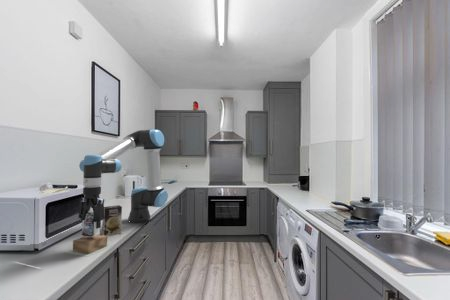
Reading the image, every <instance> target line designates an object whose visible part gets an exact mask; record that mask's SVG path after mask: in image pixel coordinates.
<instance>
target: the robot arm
mask: <svg viewBox="0 0 450 300" xmlns="http://www.w3.org/2000/svg"><path fill="white" fill-rule="evenodd" d="M164 144H165V137H164V134H163V132H162V131H161V130H159V129H144V130H143V129H141V130H136V131H134V132H132V133H130V134H128V135H126V136H125V137H123V138H122V140H121V141H119V142H117V143H115V144H114V145H112V146H110V147H108V148H107V149H105V150H103V151H101V152H100V153H98V154H86V155H85V156H84V157H83V158H84V159H82V160H80V162H79V164H78V165H79V166H78V167H79V169H80V171H81V172H83V184H82V186H83V188H82V195H83V196H84V197H80V198H79V209H78V210H79V211H78V219H80V220H81V227H82V228H81V229H82V230H81V232H82V231H83V226H84V221H85V217H86V214H87V213H88V211H91V209H92V211H93V213H94V217H95V221H94V236H96V235H101V232H100V231H101V228H102V226H101V225H102V221H103V220H104V219H105V218H104V207H105V206H104V205H105V199H104V198H101V197H100V195H101V194H102V186H101V185H102V174H114V173H116V174H117V173H119V172H120V171H121V170H122V161H121V160H120V159H117V158H119V157H120V156H122V155H124V154H125V153H127V152H128V151H130V150H134V149H136V148H141V147H142V148H143V151H144V152H145V155H146V164H147V165H146V166H147V167H146V168H147V180H148V181H147V182H148V184H147V185H148V186H147V187H146V186H145V187H139V188H138V187H136V188H133V189H132V190H131V191H130V192H131V193H130V200H131V201H130V212H129V213H128V214H129V215H128V219H127V222H128V221H130V222H129V223H131V222H141V223H146V222H149V221H151V214H150V210H149V207H153V208H163V207H164V206H165V204H166V203H167V202H168V198H169V193H168V191H167V190H165V187H164V185H162V176H161V172H162V171H161V157H160V151H161V150H162V146H164Z"/></svg>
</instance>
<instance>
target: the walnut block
mask: <svg viewBox="0 0 450 300" xmlns="http://www.w3.org/2000/svg"><path fill="white" fill-rule="evenodd" d="M107 244H108V236H104V235H102V234H99V235H96V236H93V237H84V236H82V237H79V238H77V239H73V240H72V250H73V251H74V252H79V253H84V254H90V253H93V252H95V251H97V250H99V249H102V248H104V247H106V246H107Z"/></svg>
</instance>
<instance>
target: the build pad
mask: <svg viewBox="0 0 450 300" xmlns="http://www.w3.org/2000/svg"><path fill="white" fill-rule="evenodd" d="M113 246H114V245H113V244H109V243H107V246H106V247H104V248H102V249H99V250H97V251H95V252H93V253H90V254H84V253H79V252H74V251H73V249H71V250H67V251H66V252H65V254H70V255H71V254H72V255H76V256H80V257H87V258H89V257H91V256H93V255H96V254H97V253H100V252H102V251H105V250H106V249H108V248H111V247H113Z"/></svg>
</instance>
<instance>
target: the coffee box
mask: <svg viewBox="0 0 450 300" xmlns="http://www.w3.org/2000/svg"><path fill="white" fill-rule="evenodd" d="M122 208H123V207H122V206H121V205H119V204H118V205H109V206H104V218H105V219H104V220H101V225H102V226H101V235H104V236H107V237H110V236H115V235H117V234H119V235H122V218H123V217H122V216H123V215H122V214H123V213H122V212H123V209H122Z"/></svg>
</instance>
